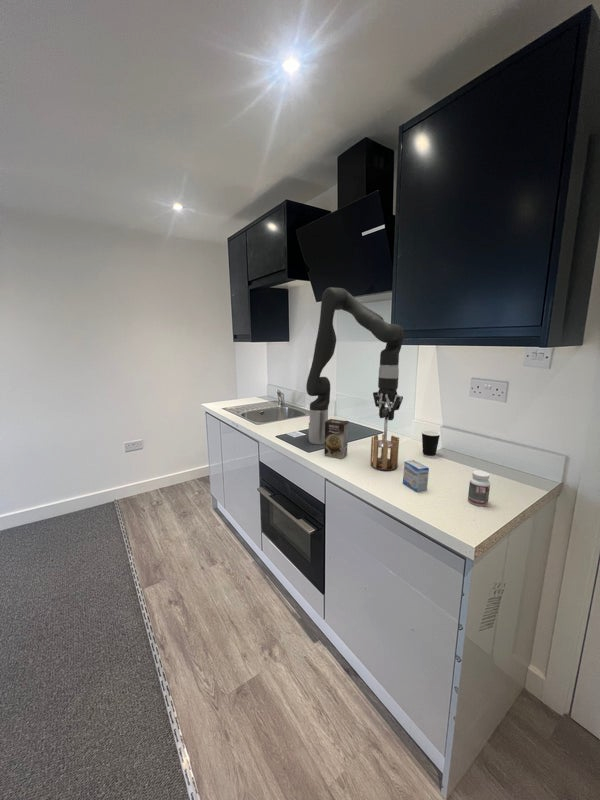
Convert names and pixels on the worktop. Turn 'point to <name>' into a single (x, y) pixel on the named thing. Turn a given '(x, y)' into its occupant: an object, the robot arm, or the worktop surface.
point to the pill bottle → (479, 488)
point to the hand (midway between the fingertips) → (386, 418)
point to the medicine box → (415, 475)
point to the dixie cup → (430, 442)
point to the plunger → (385, 428)
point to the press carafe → (384, 454)
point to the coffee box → (336, 438)
